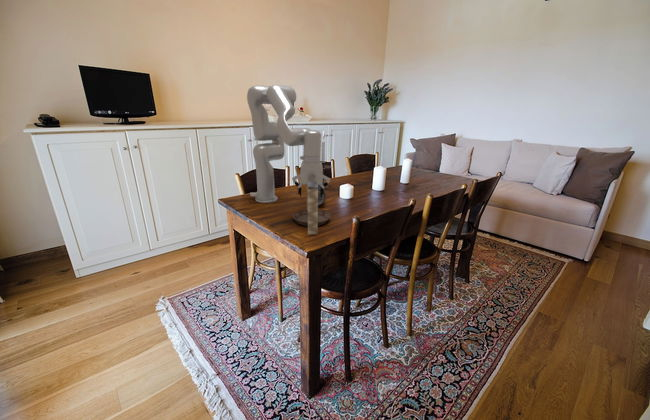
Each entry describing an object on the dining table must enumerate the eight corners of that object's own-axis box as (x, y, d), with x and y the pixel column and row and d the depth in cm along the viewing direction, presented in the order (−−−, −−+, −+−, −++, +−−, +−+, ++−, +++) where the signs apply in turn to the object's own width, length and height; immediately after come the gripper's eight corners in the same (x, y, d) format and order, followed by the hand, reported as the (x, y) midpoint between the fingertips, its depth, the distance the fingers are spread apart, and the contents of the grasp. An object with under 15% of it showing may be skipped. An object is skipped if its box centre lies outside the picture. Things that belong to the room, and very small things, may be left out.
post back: (307, 214, 141) (307, 173, 134) (306, 208, 149) (306, 169, 142) (315, 214, 141) (315, 173, 134) (314, 208, 149) (314, 169, 142)
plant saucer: (302, 212, 145) (302, 206, 144) (335, 217, 139) (335, 211, 138) (286, 224, 129) (286, 218, 128) (321, 231, 123) (321, 224, 122)
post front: (307, 234, 119) (308, 187, 112) (307, 226, 127) (307, 181, 120) (317, 234, 120) (318, 187, 112) (316, 226, 127) (317, 181, 120)
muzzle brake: (324, 193, 177) (325, 176, 173) (325, 208, 151) (325, 189, 147) (309, 192, 177) (309, 176, 173) (307, 207, 150) (307, 189, 147)
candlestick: (329, 185, 193) (331, 133, 180) (331, 190, 183) (333, 134, 170) (314, 185, 192) (314, 132, 180) (314, 190, 182) (315, 134, 170)
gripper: (291, 160, 120) (291, 198, 126) (332, 161, 121) (330, 198, 128) (292, 157, 127) (292, 192, 133) (330, 158, 128) (328, 193, 135)
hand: (310, 195), depth 130 cm, fingers open, 9 cm apart
